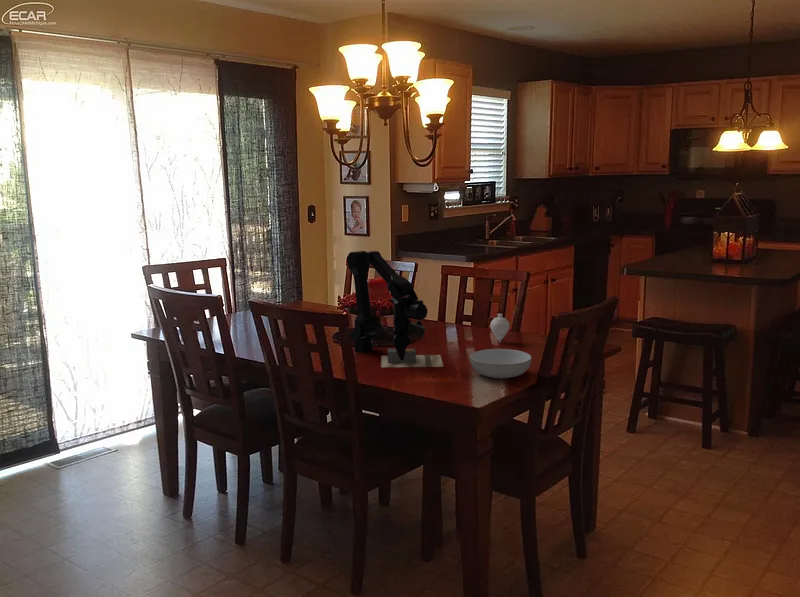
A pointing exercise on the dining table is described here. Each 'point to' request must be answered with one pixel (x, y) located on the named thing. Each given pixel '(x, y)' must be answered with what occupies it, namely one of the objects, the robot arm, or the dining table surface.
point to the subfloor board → (420, 362)
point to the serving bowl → (500, 362)
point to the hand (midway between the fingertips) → (401, 358)
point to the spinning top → (499, 327)
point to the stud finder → (408, 358)
